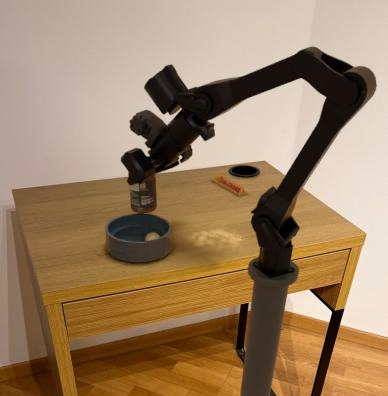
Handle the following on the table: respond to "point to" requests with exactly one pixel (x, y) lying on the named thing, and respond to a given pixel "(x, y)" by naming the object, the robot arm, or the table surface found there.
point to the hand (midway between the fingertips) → (137, 178)
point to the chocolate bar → (229, 185)
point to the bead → (151, 236)
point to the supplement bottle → (143, 196)
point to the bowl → (138, 237)
